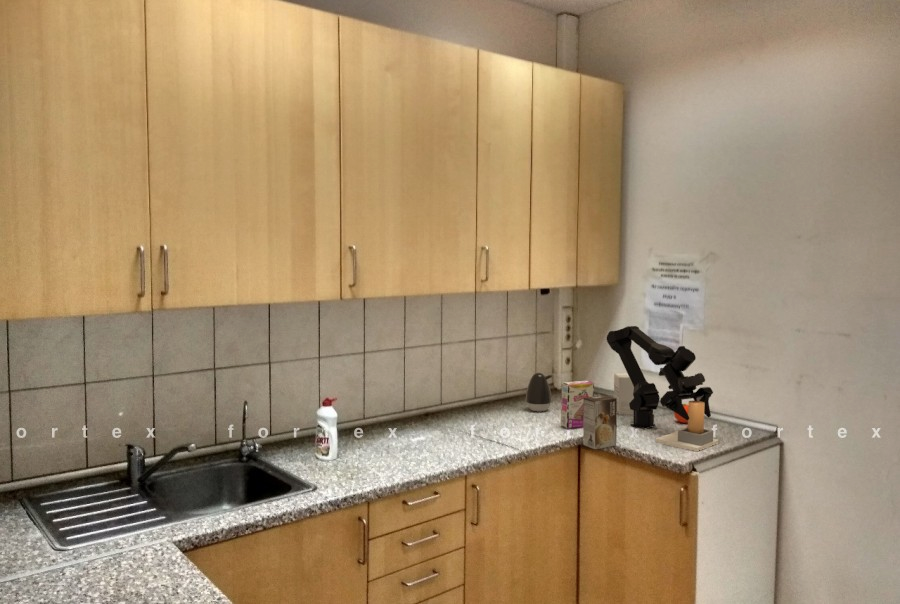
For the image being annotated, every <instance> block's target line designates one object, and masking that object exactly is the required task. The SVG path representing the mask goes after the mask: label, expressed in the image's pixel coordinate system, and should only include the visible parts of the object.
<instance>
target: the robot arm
mask: <svg viewBox="0 0 900 604" xmlns="http://www.w3.org/2000/svg"><path fill="white" fill-rule="evenodd" d="M606 341H607V345H609V347H610V348H611V350H613V352H615V353H617V354H618V356H619V358H620V361H621V362H622V365H623V366H624V369H625V371H626V373H628V375H629V377H630V380H631V382H632V384H633V386H634V391H633V396H634V399H633V400H632V401H631V402H630V403H629V406H630V409H631V410H634V415H632V416H633V418H632V419H633V420H632V421H633V422H632V423H631V424H630V426H631V427H636V428H640V429H644V430H647V429H650V428H653V427H655V426H656V424H655V414H654V410H657V409H658V406H659V402H660V404H661V406H662V407H663V408H666V409H667V410H670V411H672V412H673V413H674V412H675V413H677V414H678V415H680V416H681V417H683V418H684V419H686V420H689V416H688V414H687V412H686V410H685V408H684V406H683V404H684V403H683V400H689V399H690V400H691V399H693V401H702V402H704V403H705V406H704V416H706V417H707V418H711V409H710V402H709V401H710V398H711V397H712V395H713V394H714V391H713V390H712V388H711V387H710V386H702V385H704V383H705V382H706V378H705V376H704V374H703V373H702V372H699V373H695V374H694V375H690V376H688V375H686V376H685V375H684V373H683V372H685V371H687V370H688V369H689V367H691V365H692V364H693V363H694V362H695V361H696V354H695V353H694V352H693V351H692V350H690V349H689V348H686V346H684V345H680V346H678V347H677V350H676V351H674V350H673V348H671V347H669V346H667V345H665V344H660V343H658V342H656V341H655V340H654V339H653V338H651V337H650V336H649V335H648V334H646V333H645V332H643V330H641V329H640V327H639V326H637V325H628V326H626V327H623V328H621V329H617V330H610V331H609V332H608V334H607V335H606ZM633 342H634V344H635V345H638V346H639V348H641V349H642V350H643V351H644V352H646V353H647V354H648V355H647V356H648V358H649V360H650V361H651V362H652V363H653V364H654V365H655V366H663V365H664V366H663V367H660V368H659V372H658V376H659V377H663V376H664V377H665V379H666V381H667V382H668V384H669V385H668V387H667V388H668V389H669V391H666V392H665V393H664V394H663V396H661V397H660V392H659V390H658V389H657V386H656V384H655V383H654V382H652V383H650V382H648V381H647V380H646V377H645V376H644V373H643V371H642V368H641V367H640V365H639V363H638V361H637V359H636V357H635V355H634V354H635V353H633V351H632V344H633ZM699 386H702V387H699ZM697 387H699V388H698V389H697ZM696 389H697V390H696ZM695 390H696V391H695Z"/></svg>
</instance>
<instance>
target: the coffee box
mask: <svg viewBox="0 0 900 604" xmlns="http://www.w3.org/2000/svg"><path fill="white" fill-rule="evenodd" d="M617 415H618V413H617V398H614V396H610V395H609V396H608V395H606V394H604V395H603V394H602V395H596V396H594V397H586V398H584V427H583V435H582V436H583V438H582V439H583V444H582V445H583V446H585V447H587V448H590V449H593V450H599V449H605V448H611V447H615V446H617V425H618V424H617V418H618V417H617Z"/></svg>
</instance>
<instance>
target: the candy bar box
mask: <svg viewBox="0 0 900 604" xmlns="http://www.w3.org/2000/svg"><path fill="white" fill-rule="evenodd" d="M594 393H595V382H594V381H593V382H592V381H589V380H578V381H577V380H576V381H567V382H566V381H564V382H561V401H560V407H561V409H560V426H561V427H562V428H564V429H566V430H572V429H579V428H580V429H581V428H584V398H586V397H594Z"/></svg>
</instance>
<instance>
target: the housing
mask: <svg viewBox="0 0 900 604" xmlns="http://www.w3.org/2000/svg"><path fill="white" fill-rule="evenodd" d="M655 443H658V444H661V445H662V444H663V445H667V446H671V447H675V448H678V449H679V448H680V449H683V448H684V449H685V450H687V449H689V450H688V451H692V450H694V451H693V452H696V451H698V452H700V451H702V449H703V450H705V449H704V448H706V449H707V447H708V448H710V447H709V446H711V447H713V446H716V445H718V444H719V443H720V441H719V439H715V438H714V430H711V429H705V428H704V433H703V434H695V433H690V432H688V426H687V427H685V428H681V429H679V430H677V431H674V432H672V433H668V434H666V435H663V436H659V437H656V438H655ZM715 444H716V445H715ZM712 445H713V446H712ZM684 449H683V450H684ZM699 450H700V451H699Z"/></svg>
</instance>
